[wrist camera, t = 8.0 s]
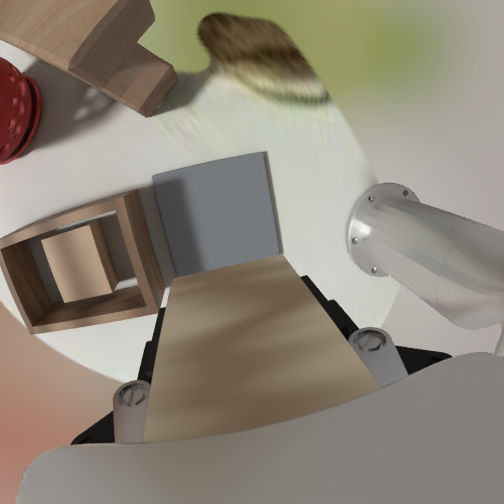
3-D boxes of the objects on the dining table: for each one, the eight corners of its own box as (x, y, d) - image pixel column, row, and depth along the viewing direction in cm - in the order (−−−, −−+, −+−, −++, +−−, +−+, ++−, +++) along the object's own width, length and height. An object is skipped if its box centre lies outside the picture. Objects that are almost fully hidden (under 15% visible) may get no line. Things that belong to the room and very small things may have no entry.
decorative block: (180, 79, 26) (148, -20, 8) (148, 121, 27) (66, 74, 9) (107, 39, 23) (27, -48, 4) (77, 78, 24) (-32, 25, 5)
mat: (261, 152, 30) (262, 152, 30) (278, 254, 34) (279, 256, 34) (152, 175, 29) (151, 176, 29) (178, 276, 33) (178, 278, 33)
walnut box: (137, 189, 30) (122, 196, 24) (165, 287, 34) (158, 313, 28) (18, 229, 28) (-8, 242, 22) (49, 311, 32) (30, 334, 26)
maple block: (282, 253, 12) (388, 399, 4) (294, 341, 13) (363, 485, 6) (172, 278, 11) (141, 455, 4) (201, 362, 13) (211, 522, 5)
